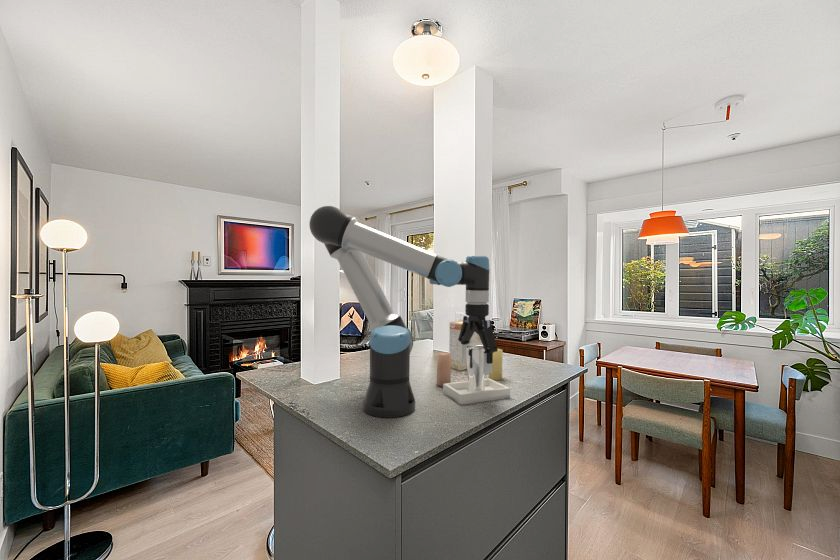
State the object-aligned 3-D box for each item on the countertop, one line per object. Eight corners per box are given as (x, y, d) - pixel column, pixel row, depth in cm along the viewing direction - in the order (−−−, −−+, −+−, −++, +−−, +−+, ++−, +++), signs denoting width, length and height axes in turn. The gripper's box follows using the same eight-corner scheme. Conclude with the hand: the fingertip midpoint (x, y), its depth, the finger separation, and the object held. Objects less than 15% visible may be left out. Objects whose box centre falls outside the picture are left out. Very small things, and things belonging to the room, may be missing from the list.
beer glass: (480, 397, 116) (481, 350, 116) (461, 393, 121) (462, 347, 120) (490, 392, 122) (491, 346, 122) (471, 388, 126) (472, 344, 126)
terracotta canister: (439, 387, 129) (440, 355, 129) (434, 383, 134) (435, 352, 134) (452, 386, 131) (453, 355, 131) (446, 382, 136) (447, 352, 136)
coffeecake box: (472, 362, 167) (472, 318, 166) (484, 365, 161) (485, 320, 161) (448, 367, 157) (448, 321, 157) (460, 370, 152) (461, 323, 151)
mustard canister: (493, 381, 138) (493, 351, 138) (486, 377, 142) (486, 348, 142) (504, 379, 140) (505, 350, 139) (497, 376, 144) (497, 347, 144)
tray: (460, 404, 113) (460, 394, 113) (443, 392, 124) (443, 383, 124) (509, 397, 119) (510, 388, 119) (489, 386, 131) (489, 378, 131)
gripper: (509, 306, 111) (508, 377, 111) (467, 300, 134) (467, 358, 134) (488, 307, 108) (487, 379, 108) (449, 300, 131) (448, 360, 131)
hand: (476, 368), depth 121 cm, fingers open, 13 cm apart
